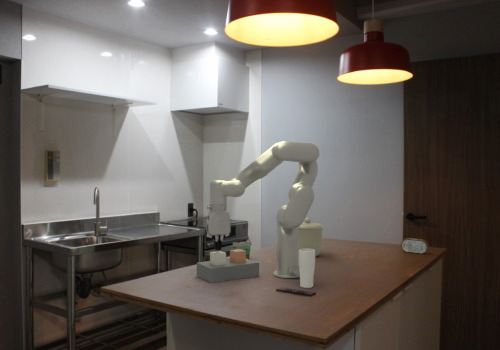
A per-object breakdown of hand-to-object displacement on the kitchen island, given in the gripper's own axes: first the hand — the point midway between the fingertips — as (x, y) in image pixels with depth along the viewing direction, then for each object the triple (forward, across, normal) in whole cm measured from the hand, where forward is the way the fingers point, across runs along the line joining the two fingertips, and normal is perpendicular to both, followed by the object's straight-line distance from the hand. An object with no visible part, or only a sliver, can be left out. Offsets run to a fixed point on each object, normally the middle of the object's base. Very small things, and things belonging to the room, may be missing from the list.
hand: (217, 249), depth 196 cm
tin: (+12, +125, -5) cm, 126 cm away
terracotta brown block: (+7, +10, 0) cm, 12 cm away
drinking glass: (+12, +24, -32) cm, 42 cm away
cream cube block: (+7, 0, 0) cm, 7 cm away
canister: (+12, +66, +20) cm, 70 cm away
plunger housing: (+12, +5, 0) cm, 13 cm away
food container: (+12, +29, +26) cm, 41 cm away
